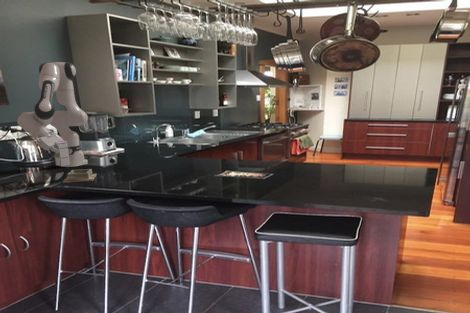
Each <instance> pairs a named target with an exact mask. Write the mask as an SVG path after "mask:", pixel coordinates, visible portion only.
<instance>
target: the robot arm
mask: <svg viewBox="0 0 470 313" xmlns="http://www.w3.org/2000/svg"><path fill="white" fill-rule="evenodd" d="M76 70H77V69H76V67H75V65H74V64H73V63H72V62H67V61H66V62H64V61H55V62H44V63H41V64H40V65H39V67H38V73H39V77H38V88H39V90H41V92H40V98H39V100H38V102H37V103H36V104H35V105H34V110H33V111H28V112H27V111H23V112H22V113H20V114H19V115H18V117H17V119H16V122H17V125H18V126H19V127H20V128H21V129H22V130H23V131H24V132H26V133H28V134H29V135H30V136H31V137H32V138H33V139H34V140H35V141H36V143H37V144H38V146H39V147H40V148H42V149H43V150H45V151H49V150H50V151H51V152H53V153H54V152H55V153H57V154H58V153H59V152H60V151H59V150H58V149H56V148H55V147H54V145H56V144H55V141H67V146H68V154H69V162H70V165H67V166H62V167H65V168H70V167H71V168H72V167H73V168H75V167H79V166H84V165H88V159H86V157H85V156H84V155H85V154H84V152H83V151H82V147H81V146H82V145H81V144H80V136H79V134H78V133H77V132H76V131H73V130H71V129H70V127H79V126H84V125H86V124H87V123H88V120H89V117H88V114H87V113H86V112H85V111H84V110H83V109H81V108H80V107H79V105H78V104H77V102H76V97H75V88H74V83H73V79H74V78H75V77H76V74H77V71H76ZM54 93H55V94H56V102H57V103H58V104H60V105H61V106H64V107H65V108H66V110H56V109H55V108H56V107H55V104H54V102H53V100H54V99H53V98H54ZM49 125H50V126H52V127H54V128H55V129H56V130H57V132H58V133H59V134H57V133H56V131H55V130H54V129H51V128H48V127H47V126H49Z"/></svg>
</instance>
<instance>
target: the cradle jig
mask: <svg viewBox="0 0 470 313" xmlns="http://www.w3.org/2000/svg"><path fill="white" fill-rule="evenodd" d="M97 174H98V173H93V170H92V168H87V169H86V168H85V169H82V168H81V169H71V171H70V172H68V173H67V174H66V177H65V179H64V180H63V181H62V183H64V184H65V183H66V184H67V183H80V182H82V183H83V182H92V181H94V180H95V178H96V177H97Z"/></svg>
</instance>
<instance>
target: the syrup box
mask: <svg viewBox="0 0 470 313" xmlns="http://www.w3.org/2000/svg"><path fill="white" fill-rule="evenodd" d="M55 144H56V145H54V147H55V148H56V149H58V150H59V151H60V152H59V153H58V154H57V153H55V152H54V151H53V155H54V161H55V166H57V167H63V166H67V165H70V162H69V154H68V146H67V141H55Z"/></svg>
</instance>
